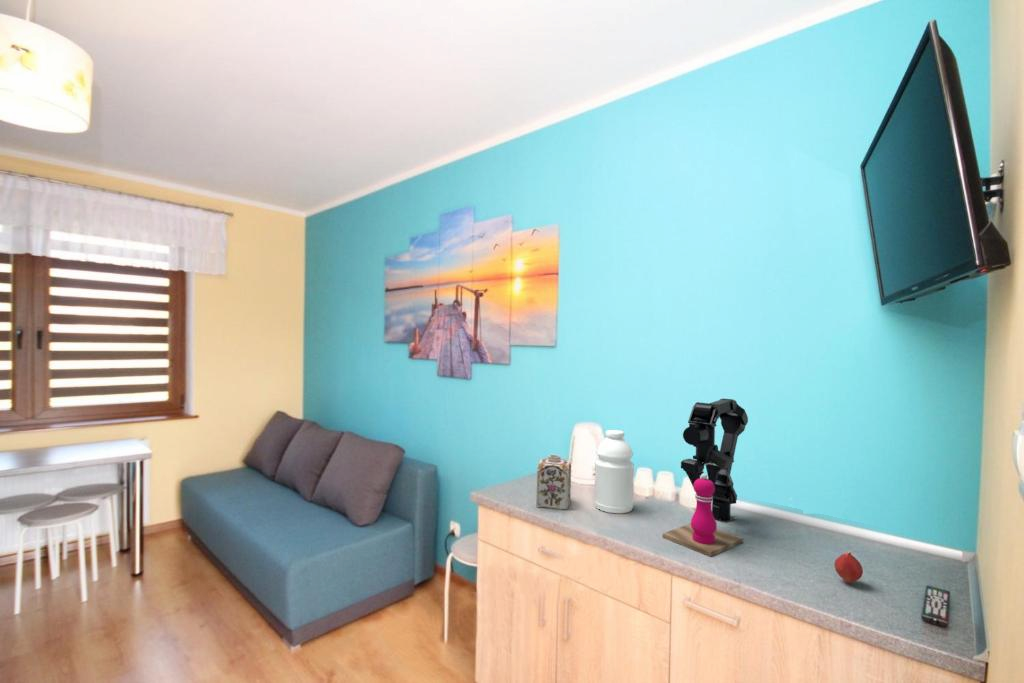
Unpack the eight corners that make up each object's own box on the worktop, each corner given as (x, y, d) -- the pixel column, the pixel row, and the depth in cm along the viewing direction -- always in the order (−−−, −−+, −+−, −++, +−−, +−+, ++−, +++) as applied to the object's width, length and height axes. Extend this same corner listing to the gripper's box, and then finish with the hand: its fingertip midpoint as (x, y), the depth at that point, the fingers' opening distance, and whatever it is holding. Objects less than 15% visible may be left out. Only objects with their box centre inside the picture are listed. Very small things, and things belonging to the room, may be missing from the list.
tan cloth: (695, 525, 154) (695, 521, 154) (743, 542, 141) (743, 538, 141) (662, 537, 144) (662, 533, 144) (710, 556, 131) (710, 552, 131)
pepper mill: (721, 541, 139) (721, 474, 139) (708, 547, 134) (709, 478, 134) (698, 533, 144) (699, 469, 145) (685, 539, 140) (686, 472, 140)
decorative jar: (535, 507, 169) (536, 458, 169) (540, 497, 180) (541, 451, 180) (568, 510, 166) (569, 460, 166) (571, 500, 177) (572, 453, 178)
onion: (828, 577, 120) (829, 546, 120) (849, 576, 121) (849, 546, 121) (846, 589, 114) (847, 556, 114) (868, 588, 115) (868, 556, 115)
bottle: (638, 505, 172) (639, 430, 173) (626, 517, 161) (627, 436, 161) (602, 498, 180) (603, 426, 180) (588, 508, 168) (589, 431, 169)
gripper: (712, 448, 140) (711, 500, 140) (744, 442, 151) (743, 490, 151) (680, 442, 149) (679, 490, 149) (712, 436, 160) (711, 481, 160)
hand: (704, 488), depth 152 cm, fingers open, 9 cm apart
